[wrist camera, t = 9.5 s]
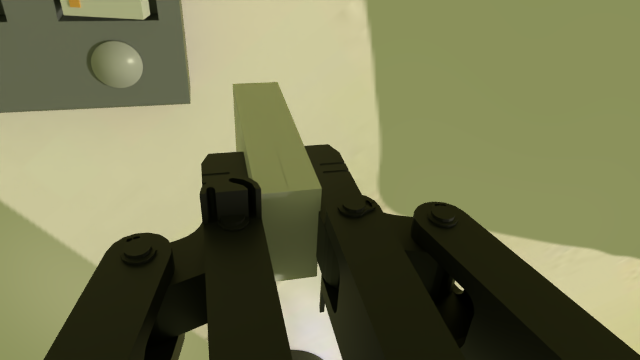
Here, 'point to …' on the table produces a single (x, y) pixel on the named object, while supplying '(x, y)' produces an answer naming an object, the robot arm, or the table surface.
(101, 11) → the rocker
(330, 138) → the table surface
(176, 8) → the switch panel
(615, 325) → the table surface
